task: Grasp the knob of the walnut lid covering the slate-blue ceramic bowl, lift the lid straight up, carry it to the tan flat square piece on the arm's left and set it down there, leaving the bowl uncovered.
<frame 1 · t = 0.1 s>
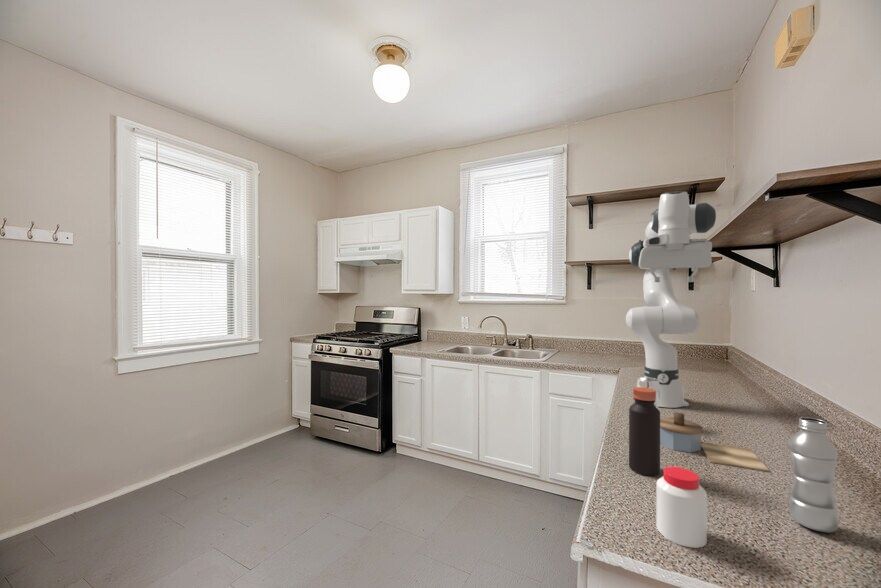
hand: (673, 282, 121), 48 cm above the worktop, fingers open, 8 cm apart
beer glass: (647, 423, 125), on the worktop
lid: (679, 427, 107), point 5 cm above the worktop, touching bowl
pill bottle: (680, 534, 67), on the worktop
tan flat square piece: (730, 456, 100), on the worktop
vinegar: (644, 470, 92), on the worktop
plastic bottle: (812, 527, 69), on the worktop
bowl: (678, 444, 107), on the worktop
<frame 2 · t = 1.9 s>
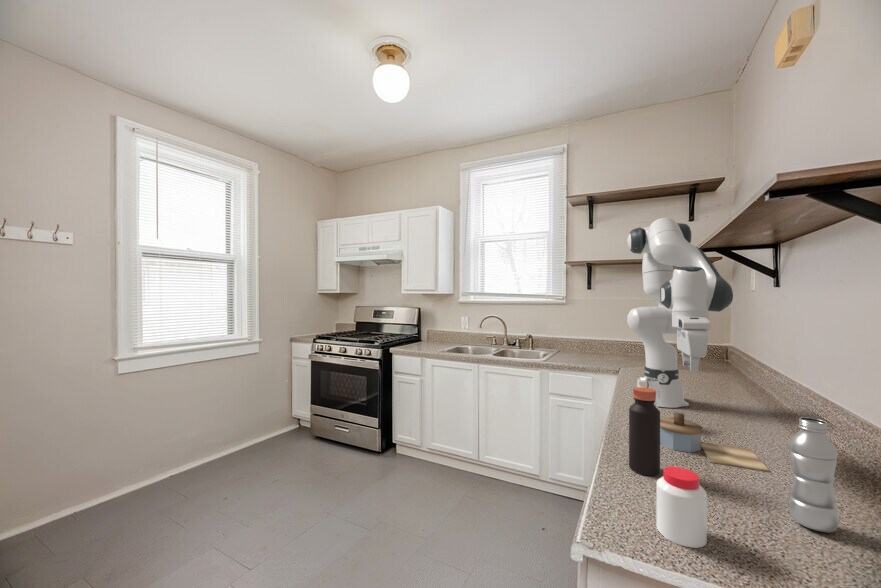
hand: (690, 369, 107), 22 cm above the worktop, fingers open, 8 cm apart
nothing on the worktop moved.
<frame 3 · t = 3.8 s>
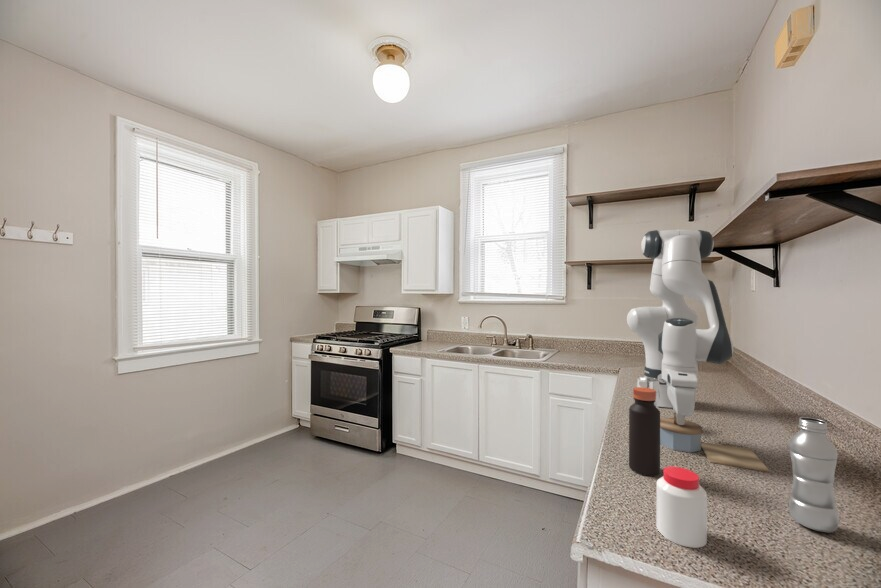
hand: (679, 422, 107), 7 cm above the worktop, fingers closed on lid, 3 cm apart
lid: (679, 427, 107), point 5 cm above the worktop, touching bowl, gripper
everything else where it was.
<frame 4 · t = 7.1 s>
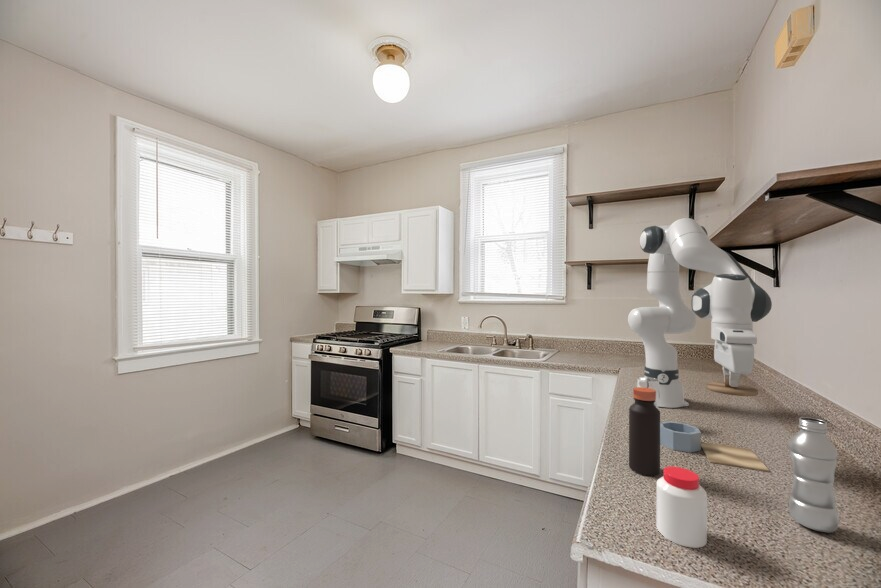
hand: (731, 384, 100), 19 cm above the worktop, fingers closed on lid, 3 cm apart
lid: (731, 390, 100), point 18 cm above the worktop, touching gripper
everything else where it was.
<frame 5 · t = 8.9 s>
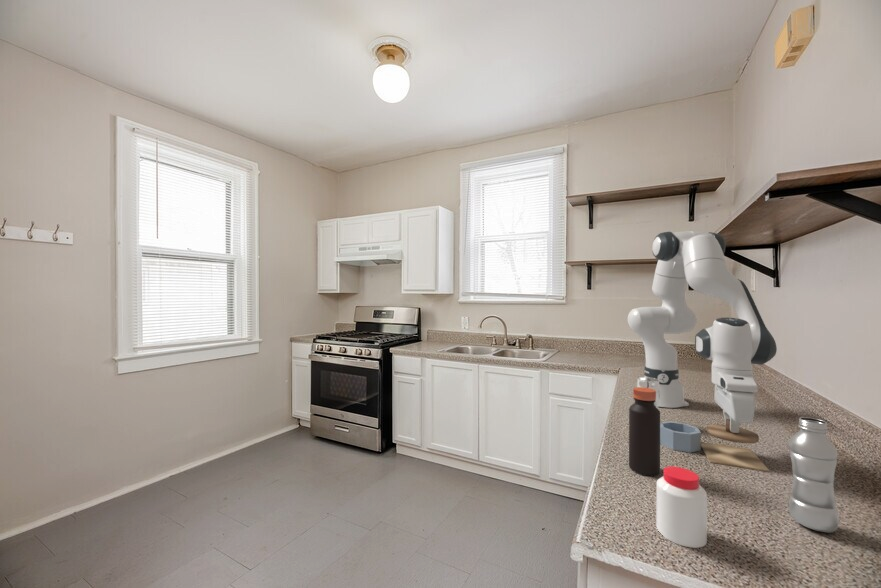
hand: (731, 429, 99), 7 cm above the worktop, fingers closed on lid, 3 cm apart
lid: (731, 435, 99), point 6 cm above the worktop, touching gripper
everything else where it was.
when the fingers open (3 cm above the worktop, at t = 10.1 s): lid drops 1 cm, resting on tan flat square piece.
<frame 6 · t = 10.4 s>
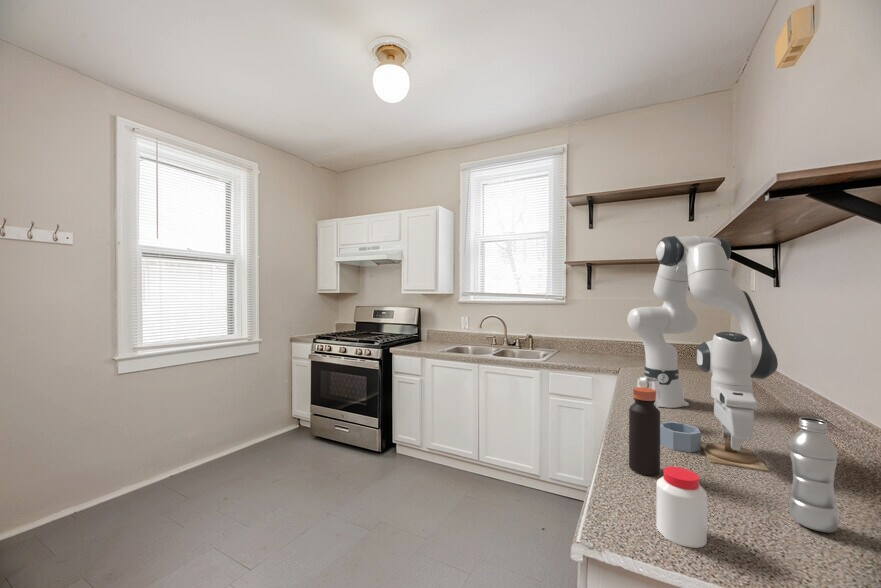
hand: (730, 444, 100), 3 cm above the worktop, fingers open, 6 cm apart
lid: (730, 454, 100), resting on tan flat square piece
everything else where it was.
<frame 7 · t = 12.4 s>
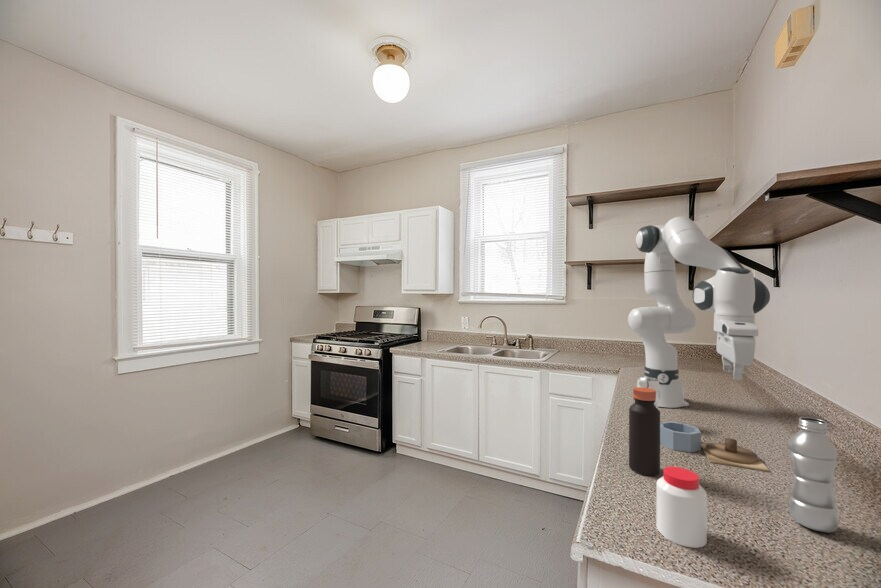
hand: (732, 375, 102), 21 cm above the worktop, fingers open, 8 cm apart
nothing on the worktop moved.
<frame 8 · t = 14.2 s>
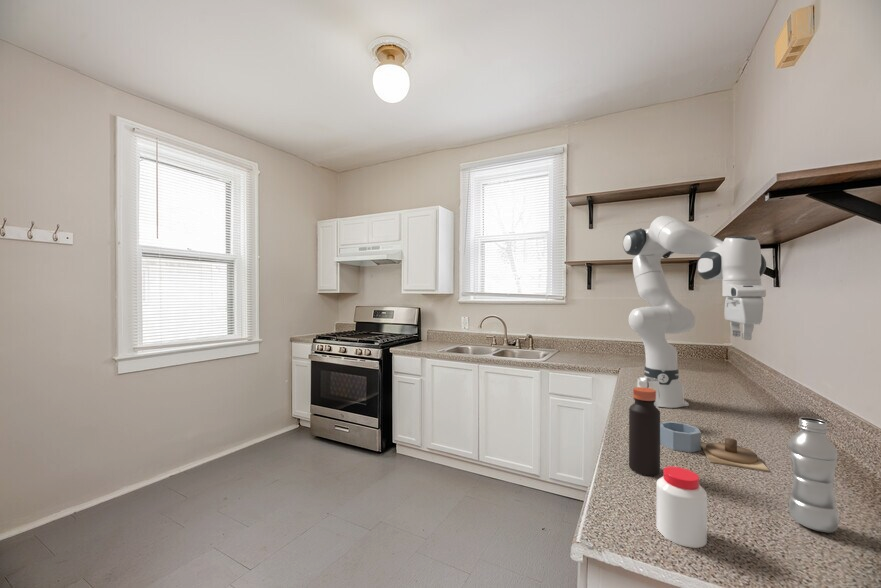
hand: (741, 338, 107), 31 cm above the worktop, fingers open, 8 cm apart
nothing on the worktop moved.
at the end: lid inside the target area on the tan flat square piece (0.1 cm from its centre), point 0.4 cm above the tan flat square piece's base; lid touching tan flat square piece; the gripper is holding nothing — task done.
